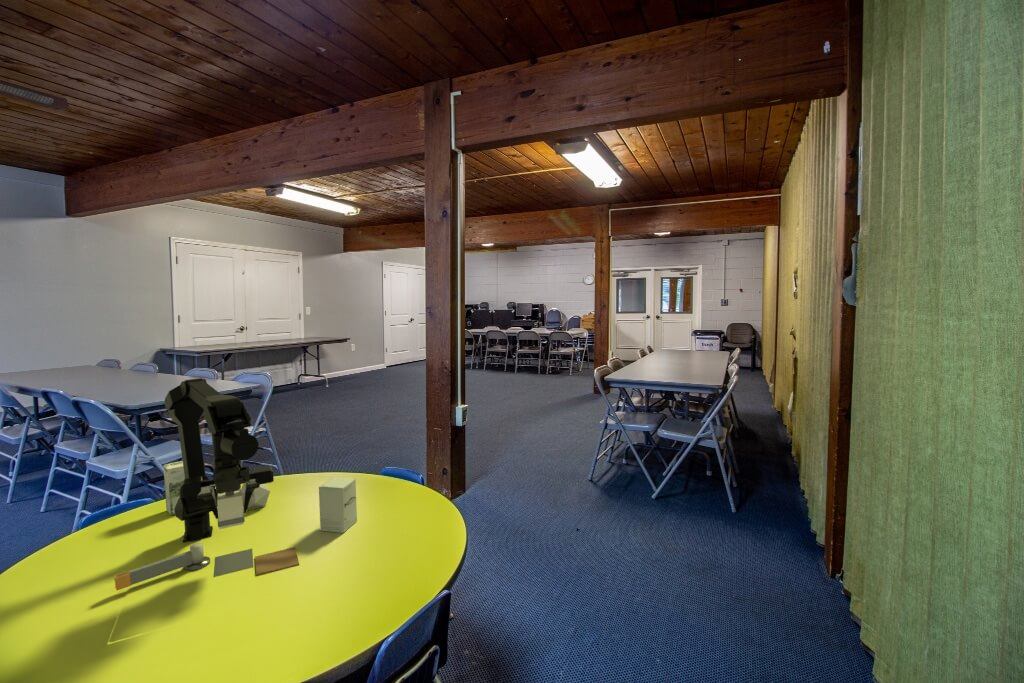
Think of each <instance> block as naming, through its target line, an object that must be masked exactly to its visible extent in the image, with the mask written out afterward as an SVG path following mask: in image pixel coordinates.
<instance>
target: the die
mask: <svg viewBox="0 0 1024 683" xmlns="http://www.w3.org/2000/svg"><path fill="white" fill-rule="evenodd" d="M245 483H246V482H245ZM245 483H243V484H242V485H241V488H240V489H242V499H243V508H244V495H245ZM267 484H268V483H266V484H260V487H259V488H255V490H254V491H253V493H252V495H251V498H250V501H249V504H248V508H247V511H251V510H255V509H260V508H265V507H266V505H267V502H268V499H269V497H270V493H271V490H270V487H269V486H268V485H267Z"/></svg>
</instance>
